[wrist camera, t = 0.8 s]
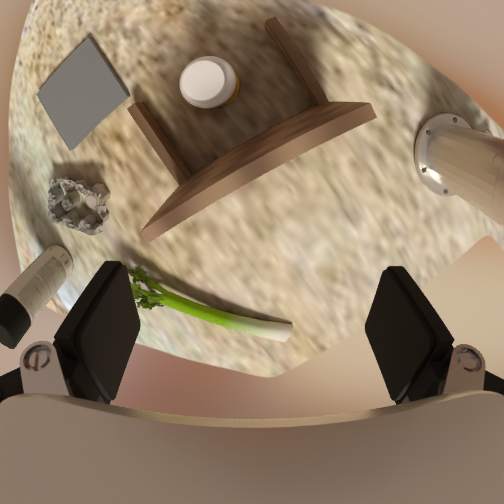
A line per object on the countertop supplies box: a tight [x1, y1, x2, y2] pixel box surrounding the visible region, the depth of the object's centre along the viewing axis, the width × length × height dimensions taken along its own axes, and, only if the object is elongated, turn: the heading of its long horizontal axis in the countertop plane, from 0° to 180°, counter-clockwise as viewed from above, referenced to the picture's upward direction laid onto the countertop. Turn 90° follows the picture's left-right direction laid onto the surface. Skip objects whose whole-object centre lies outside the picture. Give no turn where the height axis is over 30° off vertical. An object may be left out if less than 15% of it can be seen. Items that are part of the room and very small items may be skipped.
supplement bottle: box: [179, 56, 240, 108], centre depth 26 cm, size 6×6×10 cm
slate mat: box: [37, 37, 130, 150], centre depth 29 cm, size 12×12×1 cm
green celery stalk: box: [127, 266, 293, 342], centre depth 45 cm, size 6×7×30 cm
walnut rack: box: [127, 17, 377, 242], centre depth 24 cm, size 20×13×16 cm, turn 121°
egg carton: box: [48, 176, 110, 235], centre depth 36 cm, size 11×8×4 cm
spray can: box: [0, 245, 73, 349], centre depth 35 cm, size 7×7×20 cm
